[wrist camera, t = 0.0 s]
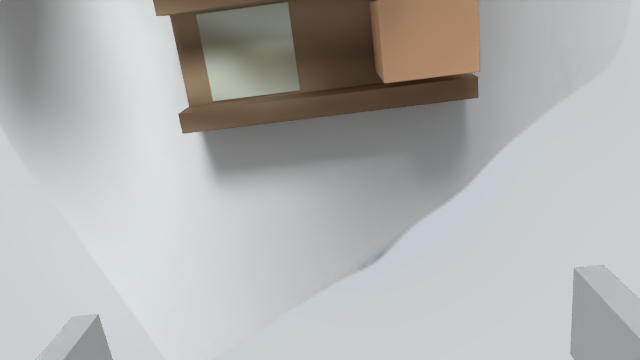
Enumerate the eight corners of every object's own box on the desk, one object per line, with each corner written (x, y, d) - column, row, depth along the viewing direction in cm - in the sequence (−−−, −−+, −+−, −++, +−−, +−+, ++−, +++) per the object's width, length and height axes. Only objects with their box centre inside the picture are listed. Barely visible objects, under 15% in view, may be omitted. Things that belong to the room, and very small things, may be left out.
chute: (171, -6, 38) (151, -8, 34) (458, -46, 37) (474, -53, 33) (198, 121, 42) (182, 133, 37) (462, 88, 40) (478, 97, 36)
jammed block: (369, 2, 36) (377, 0, 30) (451, -9, 36) (477, -14, 29) (375, 70, 38) (384, 83, 31) (454, 60, 38) (480, 71, 31)
